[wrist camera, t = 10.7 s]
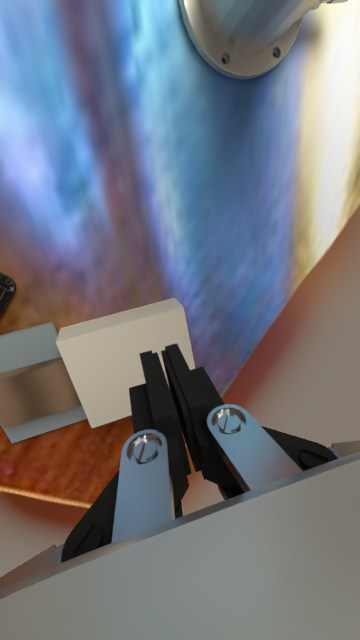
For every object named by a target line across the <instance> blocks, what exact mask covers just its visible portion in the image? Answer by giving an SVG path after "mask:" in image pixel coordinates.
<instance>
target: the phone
mask: <svg viewBox="0 0 360 640" xmlns="http://www.w3.org/2000/svg"><path fill="white" fill-rule="evenodd" d="M15 291H16V285H15V282H14V281H13V280H12V279H11V278H10V277H8V276H6V275H4V274H2V273H0V316H1V314H2V313H3V311H4V309H5V308H6V306H7V304H8V303H9V301H10V299H11V298H12V296H13V294H14V293H15Z"/></svg>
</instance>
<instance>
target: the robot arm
mask: <svg viewBox="0 0 360 640" xmlns="http://www.w3.org/2000/svg"><path fill="white" fill-rule="evenodd" d="M346 1H348V0H179V5H180V9H181V14H182V18H183V22H184V24H185V27H186V30H187V32H188V35H189V37H190V39H191V41H192V43H193V44H194V46H195V48H196V50H197V51H198V53H199V54H200V55H201V56H202V58H203V59H204V60H205V61H206V62H207V63H208V64H209V65H210V66H211V67H212V68H214V69H215V70H216V71H217V72H219V73H221V74H223V75H225V76H227V77H230V78H234V79H252V78H256V77H259V76H261V75H263V74H265V73H267V72H268V71H270V70H271V69H272V68H273V67H274V66H276V65H277V64H278V63H279V62H280V61H281V60H282V59H283V58H284V57H285V55H286V54H287V53H288V51H289V50H290V48H291V47H292V45H293V43H294V41H295V39H296V37H297V35H298V32H299V30H300V27H301V23H302V20H303V16H304V15H305V14H306V13H307V12H308V11H309V10H315V9H316V8H318V7H319V6H320V4H321V3H342V2H346ZM222 61H223V62H224V64H223V62H222ZM139 354H140V359H141V364H142V368H143V373H144V377H145V382H146V383H144V384H141V385H137V386H134V387H131V388H129V395H130V404H131V412H132V420H133V428H134V435H132V436H131V437H130V438H129V439H128V440H127V441H126V443H125V445H124V446H123V450H122V454H121V463H120V470H119V471H118V473H117V474H116V475H115V476H114V478H113V479H112V480H111V482H110V483H109V484H108V485H107V487H106V488H105V489H104V490H103V492H102V493H101V494H100V496H99V497H98V498H97V499H96V501H95V502H94V503H93V505H92V506H91V507H90V508H89V510H88V511H87V512H86V513H85V515H84V516H83V517H82V519H81V520H80V521H79V522H78V524H77V525H76V526H75V528H74V529H73V530H72V531H71V533H70V535H69V536H68V538H67V540H66V542H65V543H64V544H62V545H60V546H59V547H56V546H55V545H53V546H51V547H50V548H48V549H46V550H45V551H43V552H41V553H40V554H38V555H36V556H35V557H33V558H32V559H30V560H28V561H27V562H25V563H23V564H22V565H20V566H18V567H17V568H15V569H13V570H12V571H10V572H9V573H7V574H5V575H4V576H2V577H0V640H360V440H359V441H351V442H341V443H333V444H332V447H329V448H326V447H325V446H323V445H321V444H318V443H316V442H312V441H309V440H306V439H302V438H299V437H296V436H292V435H289V434H286V433H282V432H279V431H276V430H272V429H269V428H266V427H262V426H260V425H259V424H258V423H257V422H256V420H255V419H254V418H253V417H252V416H251V415H250V414H249V413H248V412H247V411H246V410H245V409H243V408H242V407H239V406H237V405H232V404H228V405H225V404H224V402H223V401H222V399H221V397H220V395H219V394H218V392H217V390H216V389H215V387H214V385H213V383H212V382H211V380H210V378H209V376H208V375H207V373H206V371H205V370H204V368H203V367H199V368H196V369H192V370H190V369H189V367H188V365H187V363H186V361H185V359H184V356H183V354H182V352H181V350H180V348H179V346H178V344H177V343H176V344H172V345H168V346H165V350H163V351H161V354H162V358H163V363H164V367H165V371H166V376H167V380H168V383H167V380H166V377H165V374H164V371H163V368H162V365H161V362H160V359H159V356H158V353H157V352H155V353H152V350H150V351H147V352H143V353H139ZM168 384H169V386H168ZM169 388H170V389H169ZM181 429H182V430H181ZM182 432H183V434H182ZM183 435H184V438H185V441H186V444H187V447H188V450H189V453H190V456H191V459H192V462H193V465H194V468H195V471H196V472H198V471H201V472H202V475H203V477H204V479H207V480H209V481H211V482H213V483H216V484H217V485H218V488H219V491H220V493H221V494H222V496H223V498H224V500H225V501H222V502H220V503H217V504H215V505H212V506H209V507H206V508H204V509H201V510H198V511H196V512H193V513H190V514H188V515H184V506H183V501H182V498H183V496H184V494H185V493H186V491H187V489H188V487H189V484H188V479H187V475H189V474H191V469H190V465H189V461H188V456H187V452H186V447H185V443H184V439H183Z"/></svg>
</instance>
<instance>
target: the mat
mask: <svg viewBox="0 0 360 640" xmlns="http://www.w3.org/2000/svg"><path fill="white" fill-rule="evenodd" d="M57 337H58V332H57V330H56V327H55V325H54V322H49V323H46V324H42V325H38V326H34V327H30V328H27V329H23V330H19V331H15V332H11V333H8V334H4V335H0V373H3V372H7V371H10V370H14V369H18V368H21V367H25V366H29V365H33V364H36V363H40V362H44V361H47V360H51V359H55V358H59V357H62V356H61V354H60V351H59V349H58V347H57V344H56V340H57ZM85 419H88V418H87V416H86V414H85V411H84V409H83V406H82V405H80V406H77V407H73V408H70V409H67V410H64V411H60V412H57V413H54V414H50V415H47V416H44V417H41V418H37V419H34V420H31V421H27V422H24V423H21V424H18V425H14V426H11V427H8V428H3V426H2V424H1V423H0V424H1V426H2V428H3V429H4V431H5V433H6V435H7V436H8V438H9V440H10V441H11V443H15V442H18V441H21V440H24V439H27V438H30V437H33V436H36V435H39V434H42V433H45V432H48V431H52V430H55V429H58V428H61V427H64V426H67V425H70V424H73V423H76V422H79V421H82V420H85Z"/></svg>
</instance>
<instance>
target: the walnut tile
mask: <svg viewBox="0 0 360 640" xmlns="http://www.w3.org/2000/svg"><path fill="white" fill-rule="evenodd" d="M80 405H82V404H81V402H80V399H79V397H78V395H77V392H76V390H75V387H74V385H73V383H72V380H71V378H70V375H69V373H68V371H67V368H66V366H65V363H64V361H63V359H62V357H59V358H55V359H51V360H47V361H44V362H40V363H36V364H33V365H29V366H25V367H21V368H18V369H14V370H10V371H7V372H3V373H0V423H1V424H2V426H3V428H8V427H11V426H14V425H18V424H21V423H24V422H27V421H31V420H34V419H37V418H41V417H44V416H47V415H50V414H54V413H57V412H60V411H64V410H67V409H70V408H73V407H77V406H80Z"/></svg>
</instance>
